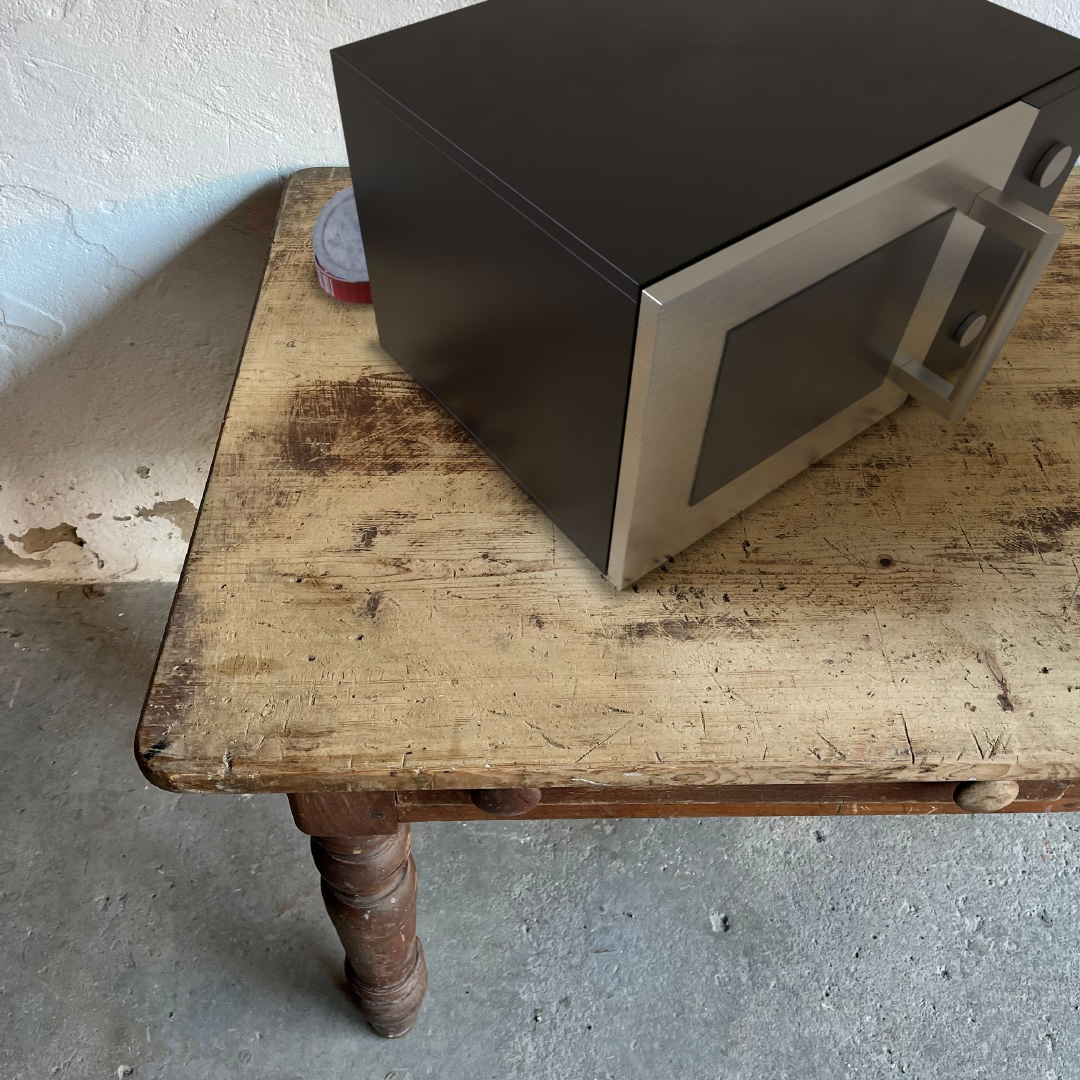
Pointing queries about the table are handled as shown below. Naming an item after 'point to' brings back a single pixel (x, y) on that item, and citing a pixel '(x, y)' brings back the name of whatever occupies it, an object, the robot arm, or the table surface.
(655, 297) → the microwave door
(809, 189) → the microwave
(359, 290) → the canned food
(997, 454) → the table surface
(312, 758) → the table surface
